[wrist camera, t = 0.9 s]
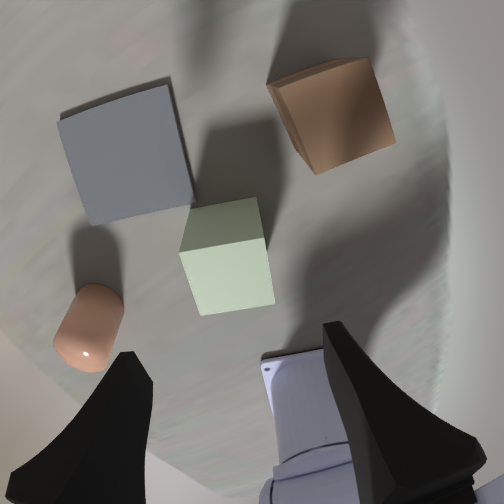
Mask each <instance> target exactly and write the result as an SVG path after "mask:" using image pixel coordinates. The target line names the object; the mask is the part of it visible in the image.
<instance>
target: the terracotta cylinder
mask: <svg viewBox="0 0 504 504" xmlns="http://www.w3.org/2000/svg"><path fill="white" fill-rule="evenodd" d="M123 314H124V306H123V303H122V301H121V299H120V298H119V297H118V295H117V294H116V293H115V292H113V291H112V290H111V289H109V288H107V287H105V286H102V285H99V284H88V285H85V286H83V287H81V288H80V289H79V291H78V292H77V294H76V296H75V298H74V300H73V302H72V304H71V306H70V307H69V309H68V311H67V313H66V315H65V317H64V319H63V321H62V323H61V325H60V327H59V329H58V331H57V333H56V335H55V337H54V340H53V345H54V348H55V351H56V352H57V354H58V355H59V356H60V357H61V358H62V359H63V360H64V361H65V362H66V363H67V364H69V365H71V366H72V367H74V368H76V369H79V370H82V371H86V372H99V371H102V370H103V369H105V367H106V366H107V363H108V360H109V357H110V354H111V351H112V347H113V344H114V341H115V338H116V335H117V332H118V329H119V326H120V323H121V320H122V317H123Z"/></svg>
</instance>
